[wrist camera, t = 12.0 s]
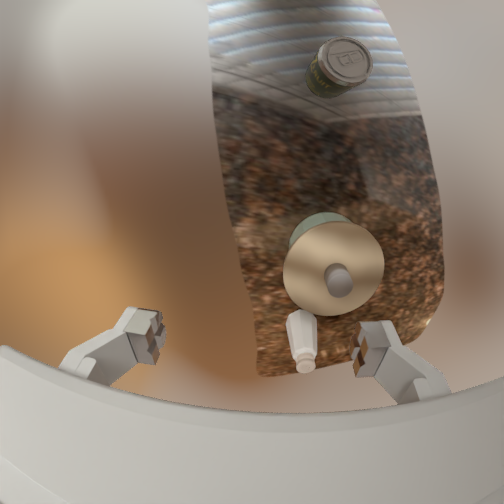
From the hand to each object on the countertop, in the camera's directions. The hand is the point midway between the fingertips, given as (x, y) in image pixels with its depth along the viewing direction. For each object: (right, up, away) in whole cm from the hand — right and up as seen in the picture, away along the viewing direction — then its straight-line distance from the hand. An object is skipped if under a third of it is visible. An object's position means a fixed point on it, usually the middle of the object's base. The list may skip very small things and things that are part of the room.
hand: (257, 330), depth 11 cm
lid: (+10, +1, +23) cm, 25 cm away
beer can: (+9, +26, +19) cm, 33 cm away
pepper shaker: (+8, -9, +35) cm, 37 cm away
